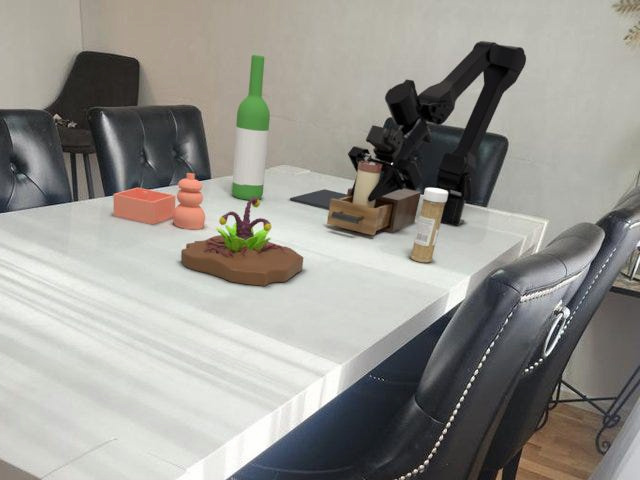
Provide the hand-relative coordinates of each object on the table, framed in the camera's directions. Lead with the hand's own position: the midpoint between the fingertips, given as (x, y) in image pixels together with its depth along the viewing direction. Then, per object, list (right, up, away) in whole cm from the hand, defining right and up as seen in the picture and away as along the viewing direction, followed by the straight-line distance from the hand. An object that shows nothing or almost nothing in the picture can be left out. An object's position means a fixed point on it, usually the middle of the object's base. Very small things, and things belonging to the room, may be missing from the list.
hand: (360, 197), depth 143 cm
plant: (-24, -24, -27) cm, 44 cm away
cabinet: (+6, 0, +14) cm, 16 cm away
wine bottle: (-26, +8, +20) cm, 34 cm away
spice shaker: (+1, -4, +4) cm, 5 cm away
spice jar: (+11, -18, -10) cm, 23 cm away
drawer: (0, -5, +4) cm, 6 cm away
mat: (-2, +10, +27) cm, 29 cm away
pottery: (-42, -8, -8) cm, 44 cm away
